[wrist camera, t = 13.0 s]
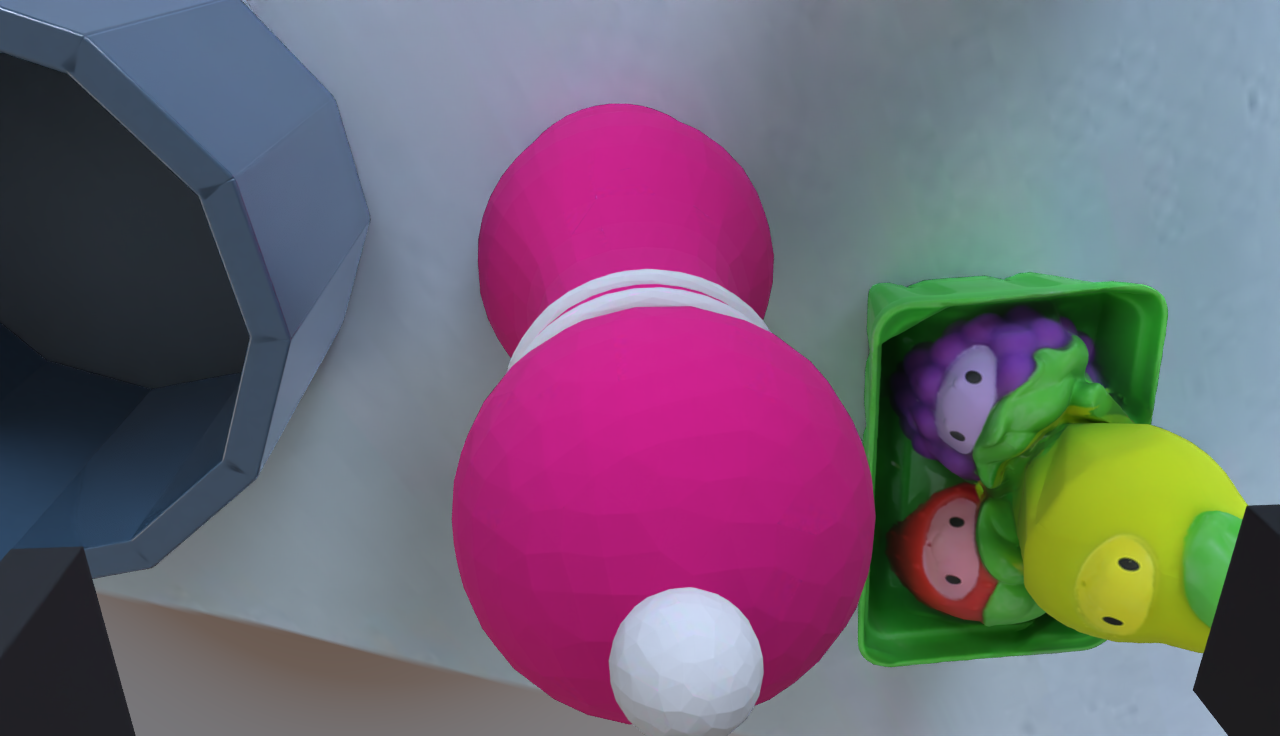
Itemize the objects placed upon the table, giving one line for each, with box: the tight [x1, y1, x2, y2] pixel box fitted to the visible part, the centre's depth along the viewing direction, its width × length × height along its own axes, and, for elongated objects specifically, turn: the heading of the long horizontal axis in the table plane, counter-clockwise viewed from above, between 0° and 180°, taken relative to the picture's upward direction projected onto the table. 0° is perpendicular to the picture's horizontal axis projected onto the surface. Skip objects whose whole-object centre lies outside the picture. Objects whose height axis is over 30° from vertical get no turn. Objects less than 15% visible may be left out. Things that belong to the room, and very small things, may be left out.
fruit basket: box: [858, 272, 1249, 667], centre depth 27 cm, size 11×9×11 cm
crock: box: [0, 0, 370, 579], centre depth 24 cm, size 13×13×9 cm
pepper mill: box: [452, 104, 876, 736], centre depth 20 cm, size 7×7×20 cm
